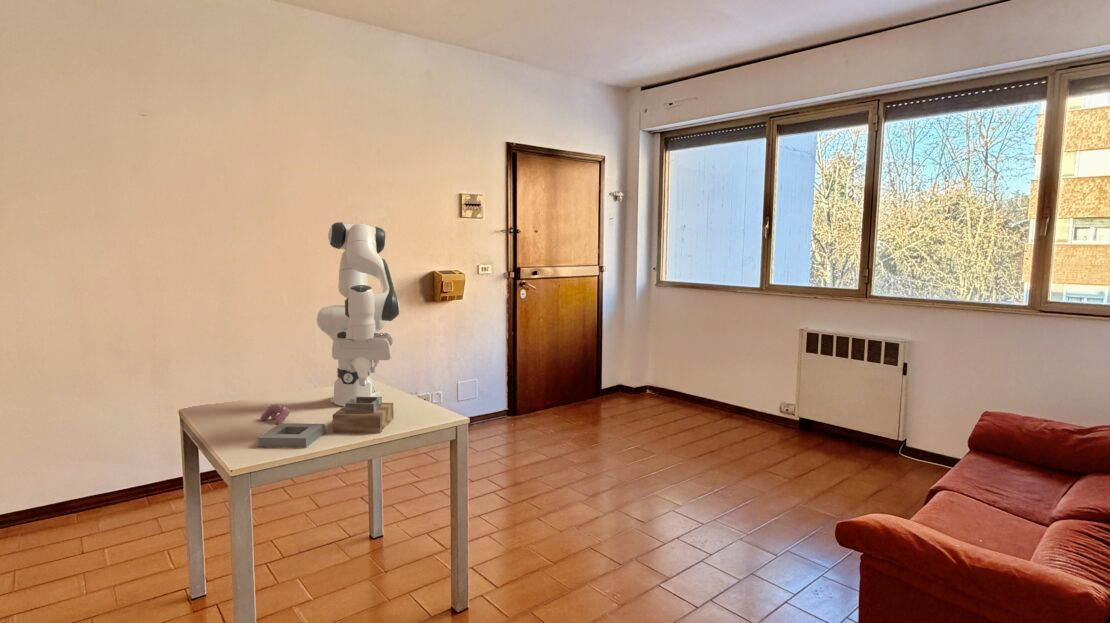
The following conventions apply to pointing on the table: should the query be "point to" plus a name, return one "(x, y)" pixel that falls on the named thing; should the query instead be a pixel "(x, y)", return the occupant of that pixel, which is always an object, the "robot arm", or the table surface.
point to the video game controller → (276, 413)
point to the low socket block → (291, 435)
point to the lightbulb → (362, 369)
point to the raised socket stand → (363, 415)
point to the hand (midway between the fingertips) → (363, 372)
